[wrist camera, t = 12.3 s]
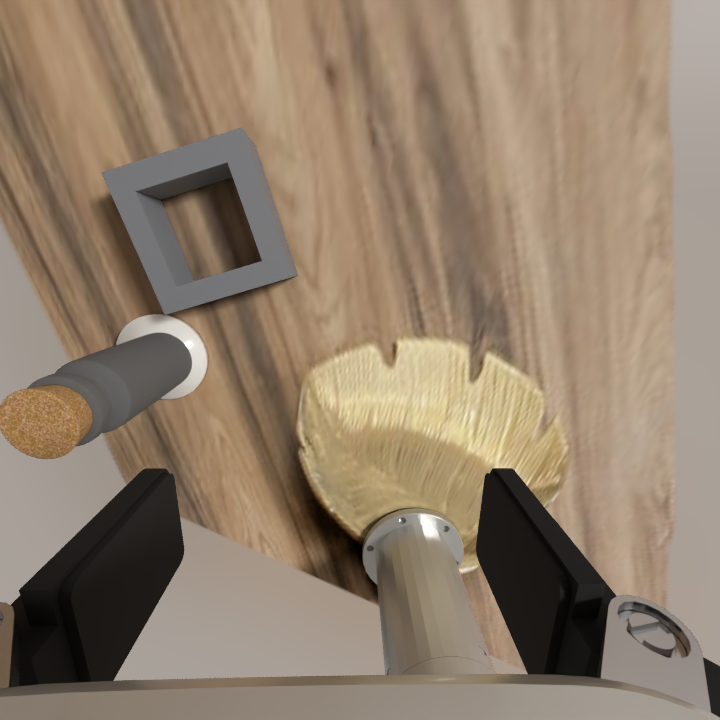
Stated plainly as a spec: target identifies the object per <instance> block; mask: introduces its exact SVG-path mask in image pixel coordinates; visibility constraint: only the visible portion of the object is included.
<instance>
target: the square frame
mask: <svg viewBox="0 0 720 720" xmlns="http://www.w3.org/2000/svg"><path fill="white" fill-rule="evenodd" d="M102 175H103V177H104V180H105V182H106V184H107V186H108V189H109V191H110V193H111V195H112V197H113V200H114V202H115V204H116V206H117V209H118V211H119V213H120V215H121V218H122V220H123V222H124V224H125V227H126V229H127V231H128V233H129V236H130V238H131V240H132V242H133V245H134V247H135V249H136V251H137V254H138V256H139V258H140V260H141V263H142V265H143V267H144V269H145V272H146V274H147V276H148V278H149V281H150V283H151V285H152V287H153V290H154V292H155V294H156V296H157V299H158V301H159V303H160V305H161V308H162V310H163V312H164V314H165V315H166V314H170V313H173V312H177V311H180V310H184V309H187V308H191V307H194V306H197V305H201V304H204V303H207V302H211V301H214V300H217V299H221V298H224V297H227V296H231V295H234V294H237V293H241V292H244V291H248V290H251V289H254V288H258V287H261V286H264V285H268V284H271V283H274V282H278V281H281V280H284V279H288V278H291V277H295V276H298V274H297V271H296V268H295V265H294V262H293V259H292V256H291V253H290V250H289V247H288V244H287V241H286V238H285V235H284V232H283V229H282V225H281V222H280V219H279V216H278V213H277V210H276V207H275V204H274V201H273V198H272V195H271V192H270V189H269V186H268V183H267V180H266V177H265V173H264V170H263V167H262V164H261V161H260V158H259V155H258V152H257V149H256V146H255V144H254V142H253V141H252V140H251V139H250V137H249V136H248V135H247V134H246V132H245V131H244V130H243V129H242V128H239V129H236V130H233V131H230V132H226V133H223V134H220V135H217V136H214V137H211V138H208V139H205V140H202V141H198V142H195V143H192V144H189V145H186V146H183V147H180V148H177V149H174V150H170V151H167V152H164V153H161V154H158V155H155V156H152V157H149V158H146V159H142V160H139V161H136V162H133V163H130V164H127V165H124V166H121V167H118V168H114V169H111V170H108V171H105V172H102ZM232 177H233V180H234V182H235V185H236V188H237V191H238V194H239V197H240V200H241V202H242V205H243V208H244V211H245V214H246V217H247V219H248V222H249V225H250V228H251V231H252V234H253V237H254V239H255V242H256V245H257V248H258V251H259V254H260V256H261V259H262V261H260V262H257V263H254V264H250V265H247V266H244V267H241V268H237V269H234V270H231V271H227V272H224V273H221V274H217V275H214V276H211V277H207V278H204V279H201V280H197V281H194V279H193V277H192V274H191V272H190V269H189V267H188V264H187V262H186V260H185V257H184V255H183V252H182V250H181V247H180V245H179V242H178V240H177V238H176V235H175V233H174V230H173V228H172V225H171V223H170V221H169V218H168V216H167V213H166V211H165V208H164V206H163V203H162V201H161V200H162V199H166V198H169V197H172V196H175V195H178V194H181V193H185V192H188V191H191V190H194V189H197V188H201V187H204V186H207V185H210V184H213V183H216V182H220V181H223V180H226V179H229V178H232Z"/></svg>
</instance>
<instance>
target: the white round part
mask: <svg viewBox="0 0 720 720" xmlns="http://www.w3.org/2000/svg"><path fill="white" fill-rule="evenodd" d="M151 333H167V334H171V335H173V336H175V337H177V338H178V339H179V340H181V341H182V342H183V343H184V344H185V345H186V347H187V348H188V350H189V352H190V354H191V358H192V368H191V372H190V374H189V375H188V377H187V378H186V379H185V380H184V381H183V382H182V383H181V384H179V385H178V386H177V387H175V388H174V389H173V390H171V391H170V392H168V393H167V394H166V395H164V396H163V397H161V398H160V399H175V398H180V397H182V396H185V395H187V394H189V393H190V392H192V391H193V390H194V389H195V388H197V387H198V386H199V385H200V384H201V382H202V381H203V379H204V378H205V376H206V373H207V370H208V363H209V359H208V352H207V348H206V345H205V343H204V341H203V339H202V338H201V336H200V335H199V334H198V332H197V331H196V330H195V329H194V328H193V327H192V326H191V325H189V324H188V323H187V322H185V321H183V320H181V319H179V318H177V317H175V316H171V315H167V314H166V315H165V314H150V315H146V316H142V317H139V318H136V319H135V320H133V321H131V322H130V323H128V324H127V325H126V326H125V327H124V328H123V330H122V331H121V333H120V334H119V337H118V339H117V342H116V345H119V344H121V343H124V342H127V341H130V340H133V339H136V338H139V337H142V336H144V335H147V334H151Z"/></svg>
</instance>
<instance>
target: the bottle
mask: <svg viewBox="0 0 720 720" xmlns="http://www.w3.org/2000/svg"><path fill="white" fill-rule="evenodd" d="M191 368H192V358H191V354H190V352H189V350H188V348H187V347H186V345H185V344H184V343H183V342H182V341H181V340H179V339H178V338H177V337H175V336H173V335H171V334H167V333H151V334H147V335H144V336H142V337H139V338H136V339H133V340H130V341H127V342H124V343H121V344H119V345H116V346H113V347H110V348H107V349H104V350H102V351H99V352H96V353H93V354H90V355H88V356H85V357H82V358H80V359H77V360H74V361H71V362H69V363H67V364H65V365H64V366H62V367H61V368H60V369H58V370H57V371H56V373H55V374H52V375H48V376H46V377H44V378H41V379H39V380H37V381H35V382H34V383H32V384H31V385H30V386H29V387H28V388H27V389H23V390H19V391H16V392H14V393H12V394H10V395H9V396H7V397H6V398H5V399H4V401H3V402H2V403H1V405H0V429H1V431H2V433H3V434H4V436H5V438H6V439H7V440H8V441H9V442H10V443H11V445H13V446H14V447H15V448H16V449H18V450H19V451H21V452H23V453H25V454H27V455H29V456H32V457H36V458H41V459H54V458H58V457H61V456H63V455H65V454H67V453H69V452H70V451H71V450H72V449H73V448H74V447H75V446H80V445H84V444H86V443H88V442H90V441H92V440H93V439H95V438H96V437H98V436H99V435H100V434H101V433H106V432H110V431H112V430H115V429H117V428H119V427H120V426H122V425H123V424H125V423H126V422H128V421H129V420H131V419H132V418H133V417H135V416H136V415H138V414H139V413H141V412H142V411H143V410H145V409H146V408H148V407H149V406H150V405H152V404H153V403H155V402H156V401H157V400H159V399H160V398H161V397H163V396H164V395H166V394H167V393H168V392H170V391H171V390H173V389H174V388H175V387H177V386H178V385H179V384H181V383H182V382H183V381H184V380H185V379H186V378H187V377H188V375H189V374H190V372H191Z"/></svg>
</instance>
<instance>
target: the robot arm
mask: <svg viewBox="0 0 720 720" xmlns="http://www.w3.org/2000/svg"><path fill="white" fill-rule="evenodd" d="M463 552H464V549H463V542H462V540H461V537H460V534H459V532H458V530H457V529H456V527H455V526H454V525H453V523H452V522H451V521H450V520H449V519H447V518H446V517H445V516H443V515H441V514H439V513H437V512H434V511H431V510H427V509H419V508H412V509H404V510H399V511H396V512H394V513H391V514H389V515H387V516H385V517H384V518H382V519H380V520H379V521H378V522H377V523H376V524H375V525H373V527H372V528H371V529H370V531H369V532H368V534H367V536H366V538H365V540H364V544H363V565H364V567H365V570H366V572H367V574H368V575H369V577H370V578H371V579H372V580H373V581H374V582H375V583H376V584H377V585H378V597H379V608H380V619H381V631H382V642H383V653H384V665H385V675H361V676H360V675H359V676H302V677H253V678H251V677H249V678H209V679H208V678H206V679H168V680H125V681H113V680H114V678H115V677H116V675H117V673H118V671H119V670H120V668H121V666H122V664H123V663H124V661H125V659H126V657H127V656H128V654H129V652H130V650H131V649H132V647H133V645H134V643H135V642H136V640H137V638H138V637H139V635H140V633H141V631H142V630H143V628H144V626H145V624H146V623H147V621H148V619H149V617H150V616H151V614H152V612H153V610H154V609H155V607H156V605H157V603H158V602H159V600H160V598H161V596H162V595H163V593H164V591H165V590H166V588H167V586H168V584H169V582H170V581H171V579H172V577H173V576H174V574H175V572H176V570H177V569H178V567H179V565H180V563H181V561H182V558H183V555H184V544H183V536H182V529H181V522H180V515H179V508H178V500H177V493H176V486H175V479H174V476H173V474H169V472H168V470H167V469H144V470H142V471H141V472H140V473H139V474H138V475H137V476H136V477H135V478H134V479H133V480H132V481H131V482H130V483H129V484H128V485H127V486H126V487H124V489H123V490H122V491H120V492H119V493H118V494H117V495H116V496H115V497H114V498H113V499H112V500H111V501H110V502H109V503H108V504H107V505H106V506H105V507H104V508H103V509H102V510H101V511H100V512H99V513H98V514H97V515H96V516H95V517H94V518H93V519H92V520H91V521H90V522H89V523H87V525H85V526H84V527H83V528H82V529H81V530H80V531H79V532H78V533H77V534H76V535H75V536H74V537H73V538H72V539H71V540H70V541H69V542H68V543H67V544H66V545H65V546H64V547H63V548H62V549H61V550H60V551H59V552H58V553H57V554H56V555H55V556H54V557H53V558H52V559H50V561H48V562H47V564H45V566H43V567H42V568H41V569H40V570H39V571H38V572H37V573H36V574H35V575H34V576H33V577H32V578H31V579H30V580H29V581H28V582H27V583H26V584H25V585H24V586H23V587H22V588H21V589H20V590H19V592H20V596H19V597H18V598H17V599H16V600H15V601H14V602H13V603H12V604H11V605H9V604H7V603H1V602H0V720H720V666H718V665H716V664H714V663H713V662H711V661H709V660H707V659H705V658H703V655H702V651H701V648H700V645H699V643H698V641H697V639H696V638H695V636H694V635H693V634H692V632H691V631H690V630H689V629H688V628H687V627H686V626H685V625H684V624H683V623H682V622H681V621H680V620H679V619H678V618H677V617H675V616H674V615H673V614H671V613H670V612H669V611H667V610H666V609H664V608H662V607H661V606H659V605H657V604H655V603H653V602H651V601H648V600H646V599H643V598H640V597H637V596H631V595H620V596H616V595H615V594H614V592H613V591H612V590H611V589H610V588H609V586H608V585H607V584H606V583H605V581H604V580H603V579H602V578H601V576H600V575H599V574H598V573H597V571H596V570H595V569H594V568H593V567H592V565H591V564H590V563H589V562H588V560H587V559H586V558H585V557H584V555H583V554H582V553H581V552H580V550H579V549H578V548H577V547H576V545H575V544H574V543H573V542H572V541H571V539H570V538H569V537H568V536H567V534H566V533H565V532H564V531H563V529H562V528H561V527H560V526H559V524H558V523H557V522H556V521H555V520H554V519H553V518H552V517H551V515H550V514H549V513H548V512H547V510H546V509H545V508H544V507H543V505H542V504H541V503H540V502H539V500H538V499H537V498H536V497H535V495H534V494H533V493H532V492H531V491H530V489H529V488H528V487H527V486H526V484H525V483H524V482H523V481H522V479H521V478H520V477H519V476H518V474H517V473H516V472H515V471H514V470H513V469H511V468H493V469H492V470H491V472H490V473H487V474H486V475H485V479H484V487H483V495H482V503H481V511H480V519H479V527H478V535H477V544H476V552H477V557H478V560H479V563H480V565H481V567H482V570H483V572H484V574H485V577H486V579H487V581H488V583H489V586H490V588H491V590H492V593H493V595H494V597H495V599H496V602H497V604H498V606H499V609H500V611H501V613H502V615H503V618H504V620H505V622H506V625H507V627H508V629H509V631H510V634H511V636H512V638H513V641H514V643H515V645H516V647H517V650H518V652H519V654H520V657H521V659H522V661H523V664H524V666H525V668H526V670H527V673H528V674H527V675H526V674H496V672H495V669H494V667H493V664H492V661H491V658H490V655H489V652H488V650H487V647H486V644H485V641H484V638H483V636H482V633H481V630H480V627H479V624H478V622H477V619H476V616H475V613H474V611H473V608H472V605H471V602H470V599H469V597H468V594H467V591H466V588H465V585H464V583H463V580H462V577H461V574H460V571H459V567H460V565H461V562H462V559H463Z"/></svg>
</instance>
